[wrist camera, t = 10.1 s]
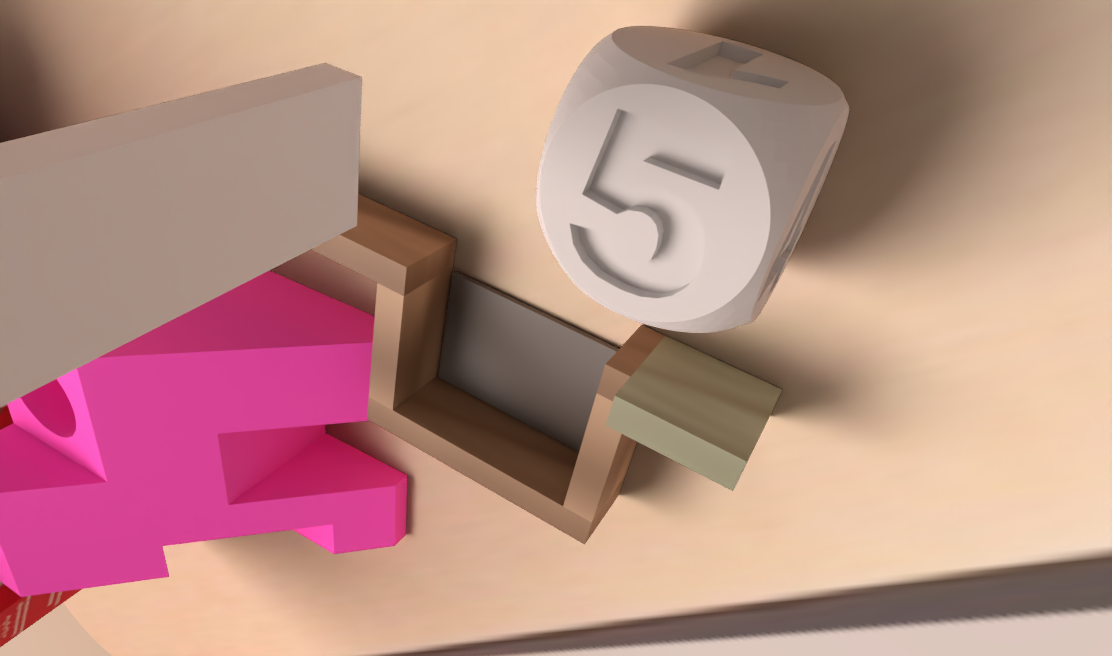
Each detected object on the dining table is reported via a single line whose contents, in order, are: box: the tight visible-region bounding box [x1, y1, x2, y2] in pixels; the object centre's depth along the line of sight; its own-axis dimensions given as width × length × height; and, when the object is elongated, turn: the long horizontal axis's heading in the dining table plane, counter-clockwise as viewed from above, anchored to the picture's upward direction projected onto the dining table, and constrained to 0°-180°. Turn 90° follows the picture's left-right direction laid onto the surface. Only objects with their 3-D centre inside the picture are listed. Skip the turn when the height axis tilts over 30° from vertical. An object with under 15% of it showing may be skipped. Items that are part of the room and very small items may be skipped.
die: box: [536, 26, 849, 333], centre depth 16 cm, size 5×5×5 cm
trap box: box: [311, 194, 782, 544], centre depth 19 cm, size 24×22×4 cm
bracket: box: [0, 271, 407, 597], centre depth 27 cm, size 12×10×10 cm
